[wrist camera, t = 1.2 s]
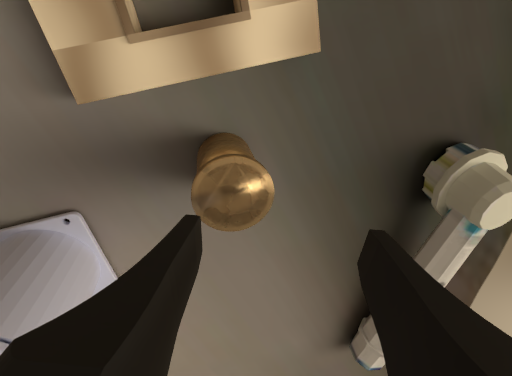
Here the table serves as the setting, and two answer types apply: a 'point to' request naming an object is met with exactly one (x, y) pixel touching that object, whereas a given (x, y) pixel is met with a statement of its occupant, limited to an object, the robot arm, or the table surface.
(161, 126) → the table surface
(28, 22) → the table surface
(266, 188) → the brass flanged knob
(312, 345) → the table surface
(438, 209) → the white long knobbed bar
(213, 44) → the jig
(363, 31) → the table surface
